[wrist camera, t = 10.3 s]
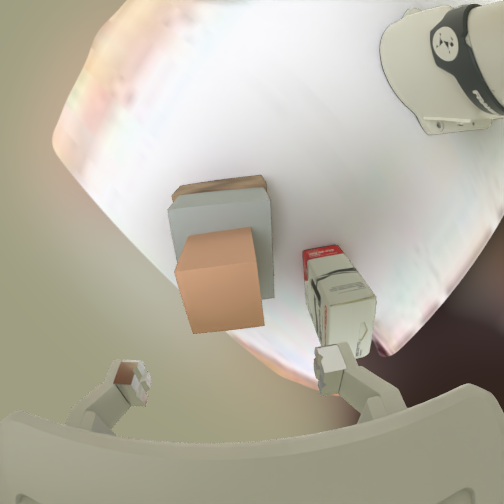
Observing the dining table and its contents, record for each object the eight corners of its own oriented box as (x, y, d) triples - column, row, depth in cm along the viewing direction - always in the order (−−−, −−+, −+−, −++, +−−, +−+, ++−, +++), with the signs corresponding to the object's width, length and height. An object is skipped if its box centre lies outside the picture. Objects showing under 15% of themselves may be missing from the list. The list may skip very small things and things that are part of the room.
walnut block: (260, 174, 30) (266, 182, 25) (268, 255, 34) (274, 275, 30) (180, 185, 30) (171, 195, 25) (196, 264, 34) (191, 285, 29)
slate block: (263, 186, 26) (270, 199, 21) (268, 271, 29) (274, 297, 25) (179, 195, 25) (167, 209, 21) (193, 277, 29) (186, 305, 25)
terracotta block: (250, 226, 22) (256, 261, 16) (257, 281, 24) (264, 325, 18) (188, 235, 22) (174, 272, 16) (200, 288, 24) (193, 333, 18)
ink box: (300, 250, 34) (329, 306, 23) (338, 243, 34) (379, 294, 23) (304, 305, 38) (327, 368, 27) (338, 298, 37) (370, 357, 27)
